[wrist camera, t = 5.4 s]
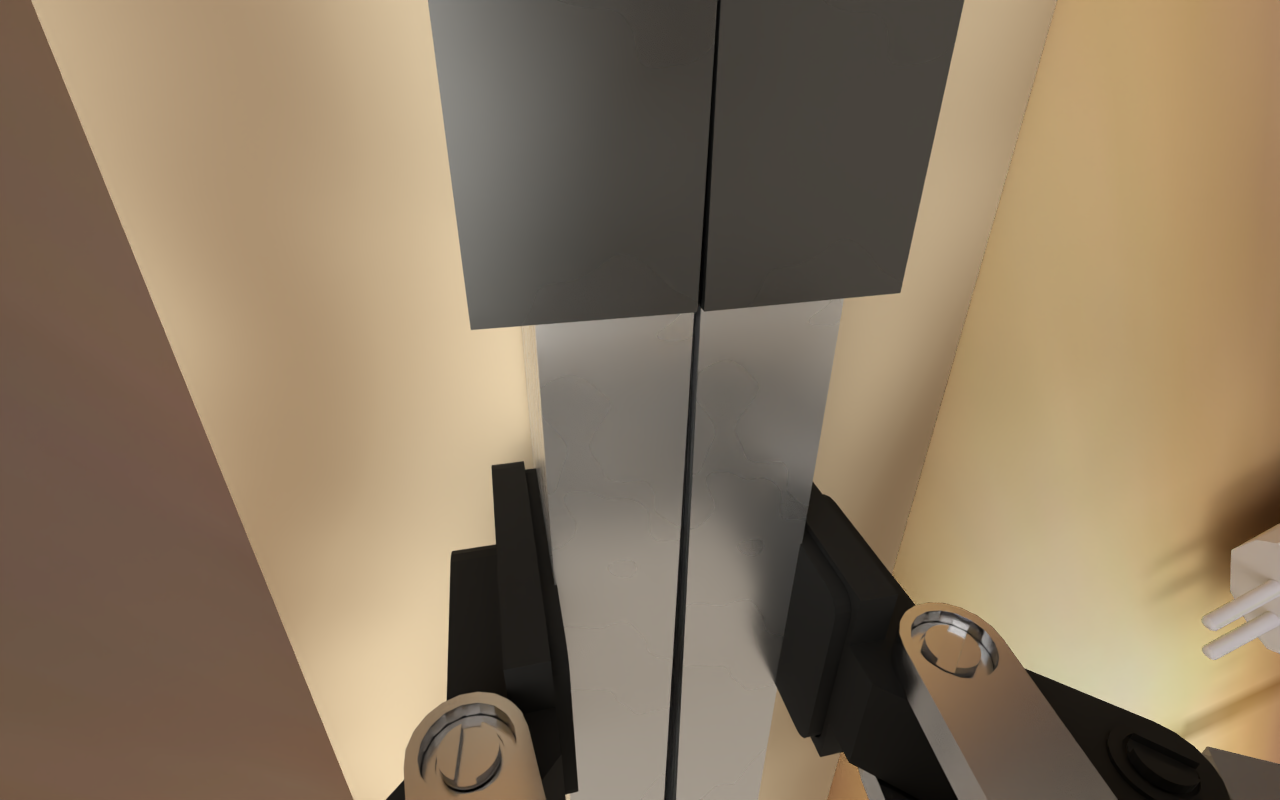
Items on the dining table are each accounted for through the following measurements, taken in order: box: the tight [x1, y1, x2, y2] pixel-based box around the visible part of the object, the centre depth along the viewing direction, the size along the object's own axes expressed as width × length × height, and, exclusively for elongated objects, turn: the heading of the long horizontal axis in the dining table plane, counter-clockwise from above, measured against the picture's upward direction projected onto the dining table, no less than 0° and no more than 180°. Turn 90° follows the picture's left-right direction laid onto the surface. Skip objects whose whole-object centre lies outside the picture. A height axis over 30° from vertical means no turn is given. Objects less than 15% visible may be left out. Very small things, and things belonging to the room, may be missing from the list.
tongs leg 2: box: [664, 0, 964, 800], centre depth 11 cm, size 22×2×4 cm, turn 1°
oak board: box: [31, 0, 1057, 800], centre depth 14 cm, size 13×28×1 cm, turn 0°
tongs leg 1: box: [428, 0, 717, 800], centre depth 11 cm, size 22×2×4 cm, turn 0°
